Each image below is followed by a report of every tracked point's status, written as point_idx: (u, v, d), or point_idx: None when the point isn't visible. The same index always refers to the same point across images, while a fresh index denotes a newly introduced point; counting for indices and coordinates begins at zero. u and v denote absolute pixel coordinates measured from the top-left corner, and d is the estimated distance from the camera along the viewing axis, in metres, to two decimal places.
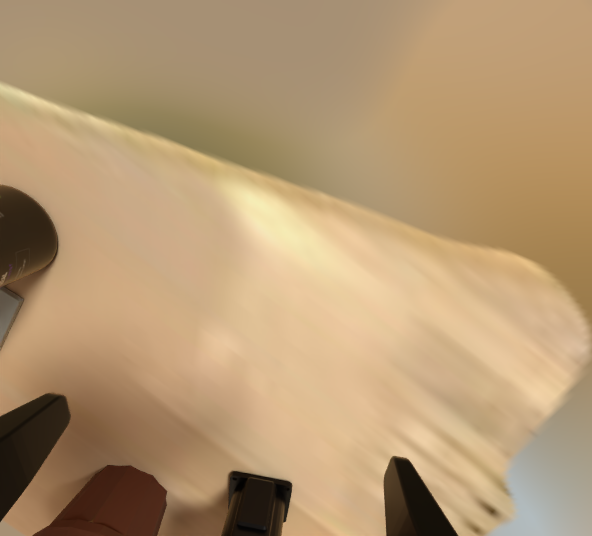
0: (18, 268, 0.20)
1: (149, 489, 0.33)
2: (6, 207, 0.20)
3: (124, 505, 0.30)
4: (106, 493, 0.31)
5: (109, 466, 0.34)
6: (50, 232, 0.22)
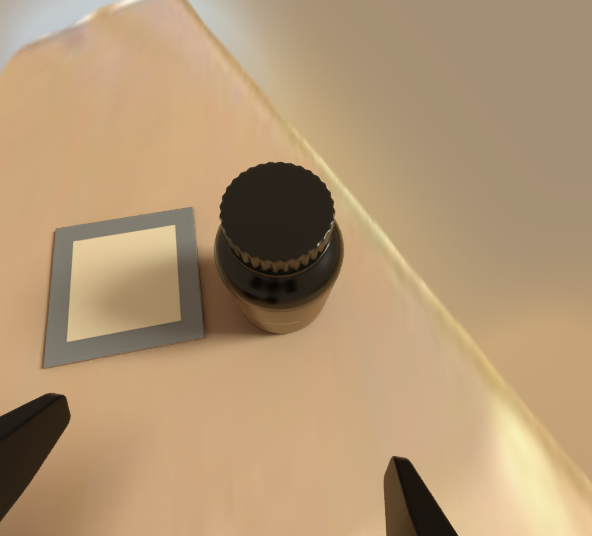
0: (298, 323, 0.19)
1: None
2: None
3: None
4: None
5: None
6: None
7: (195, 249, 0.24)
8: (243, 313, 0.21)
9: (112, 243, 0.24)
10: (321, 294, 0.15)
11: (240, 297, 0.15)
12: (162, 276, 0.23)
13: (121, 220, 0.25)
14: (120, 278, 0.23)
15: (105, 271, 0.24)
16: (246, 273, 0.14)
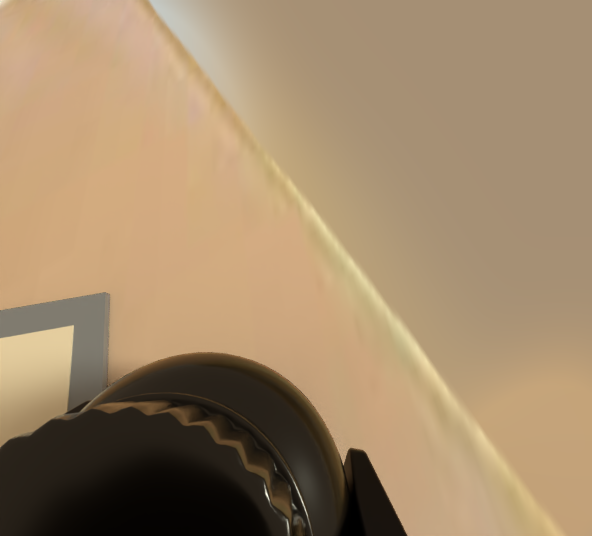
0: None
1: None
2: None
3: None
4: None
5: None
6: None
7: (102, 370, 0.15)
8: None
9: None
10: None
11: None
12: (39, 424, 0.14)
13: None
14: None
15: None
16: None
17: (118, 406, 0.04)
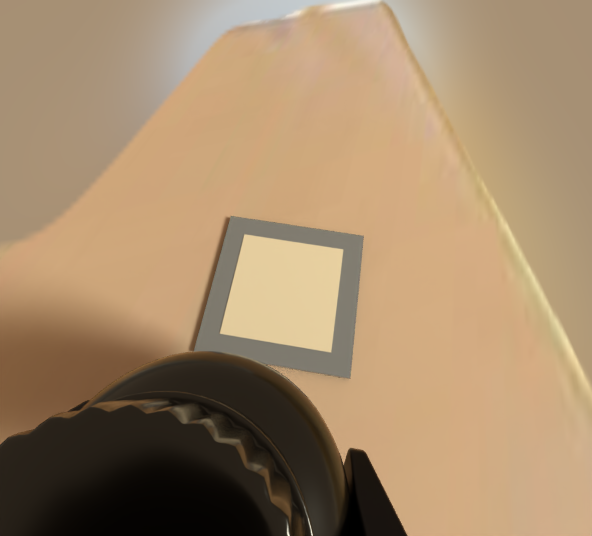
0: None
1: None
2: None
3: None
4: None
5: None
6: None
7: (358, 282, 0.23)
8: None
9: (280, 248, 0.24)
10: None
11: None
12: (321, 299, 0.23)
13: (292, 227, 0.25)
14: (280, 286, 0.23)
15: (267, 275, 0.23)
16: None
17: (117, 404, 0.04)
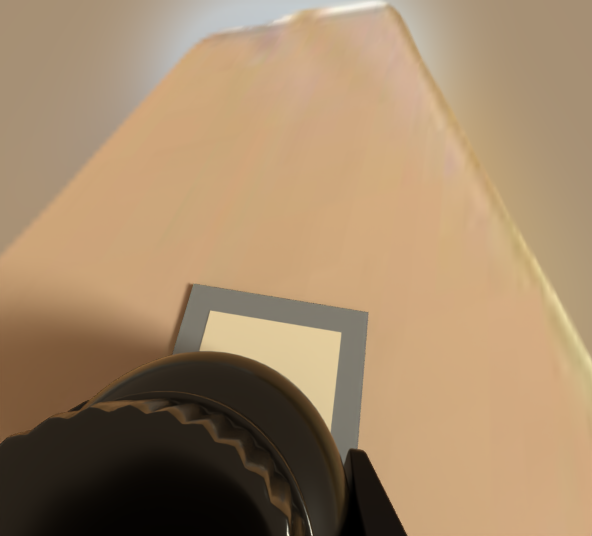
0: None
1: None
2: None
3: None
4: None
5: None
6: None
7: (361, 380, 0.17)
8: None
9: (257, 331, 0.18)
10: None
11: None
12: None
13: (274, 300, 0.19)
14: None
15: None
16: None
17: (117, 404, 0.04)
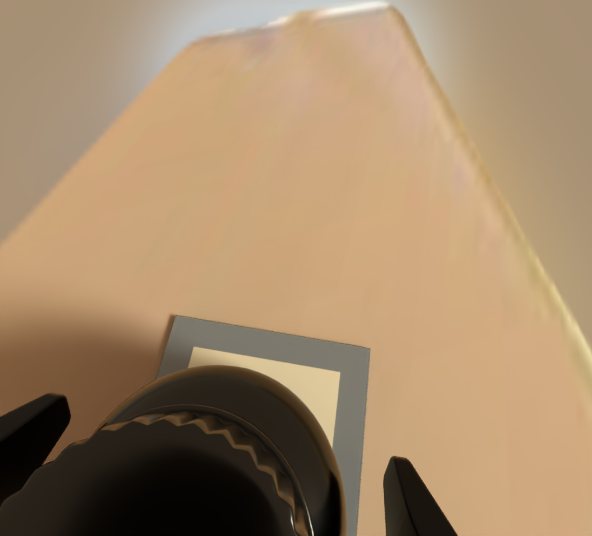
0: None
1: None
2: None
3: None
4: None
5: None
6: None
7: (363, 428, 0.15)
8: None
9: None
10: None
11: None
12: None
13: (265, 334, 0.17)
14: None
15: None
16: None
17: (151, 418, 0.05)
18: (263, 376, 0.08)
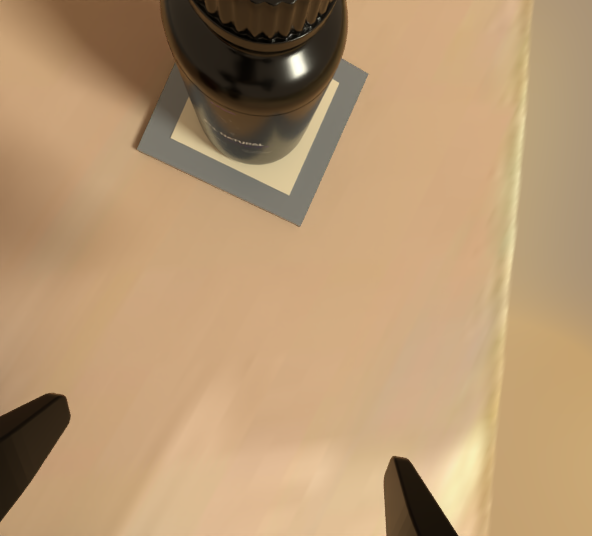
0: (261, 150, 0.16)
1: None
2: None
3: None
4: None
5: None
6: (286, 154, 0.19)
7: (342, 128, 0.20)
8: (199, 120, 0.17)
9: None
10: (296, 104, 0.11)
11: (188, 71, 0.11)
12: None
13: None
14: None
15: None
16: (199, 30, 0.10)
17: None
18: None
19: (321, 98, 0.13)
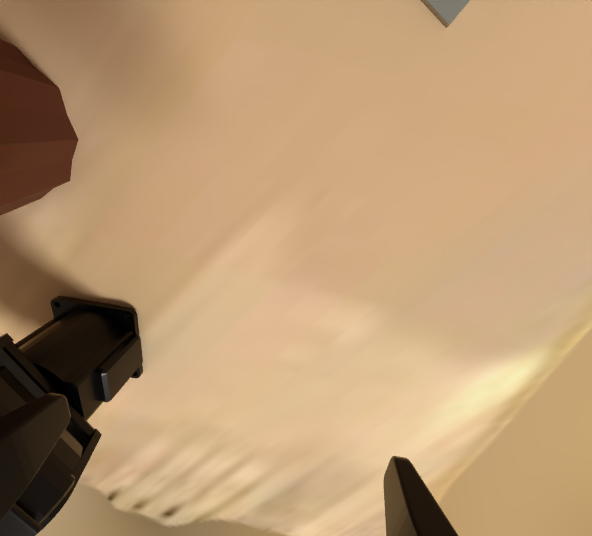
0: None
1: (50, 188, 0.19)
2: None
3: (27, 173, 0.16)
4: (36, 131, 0.15)
5: (59, 94, 0.17)
6: None
7: None
8: None
9: None
10: None
11: None
12: None
13: None
14: None
15: None
16: None
17: None
18: None
19: None
